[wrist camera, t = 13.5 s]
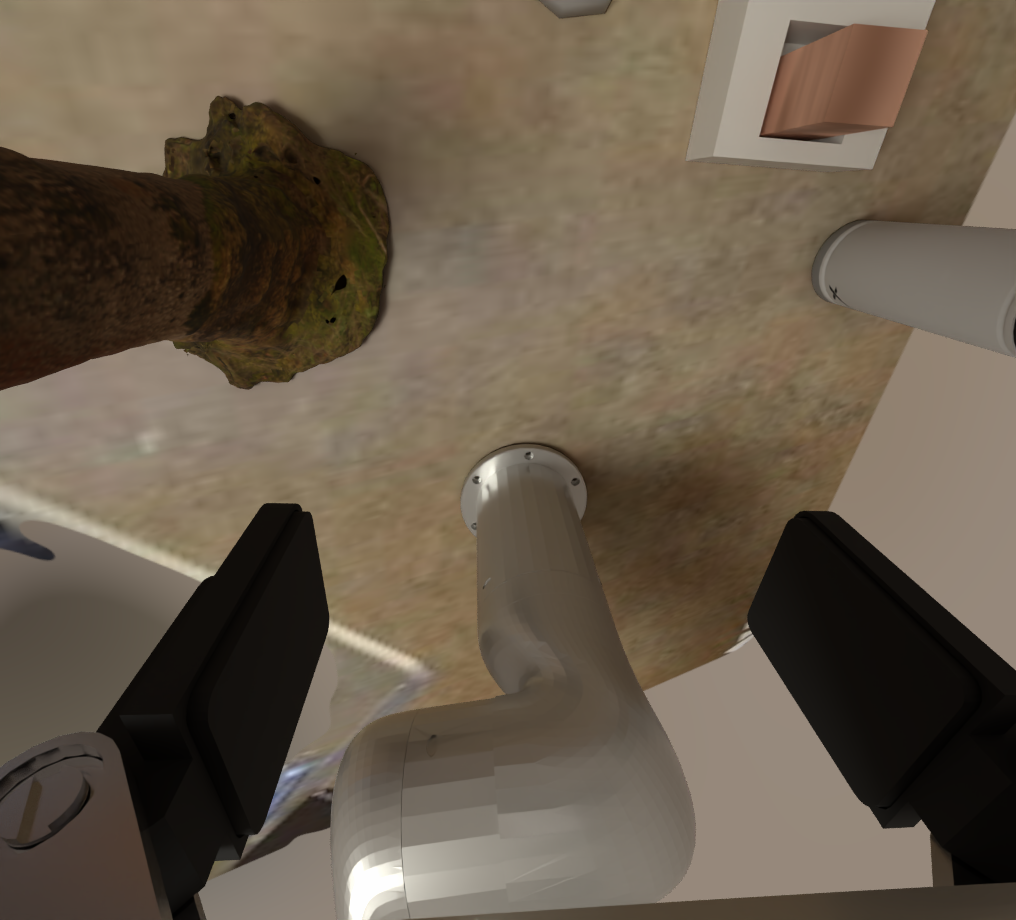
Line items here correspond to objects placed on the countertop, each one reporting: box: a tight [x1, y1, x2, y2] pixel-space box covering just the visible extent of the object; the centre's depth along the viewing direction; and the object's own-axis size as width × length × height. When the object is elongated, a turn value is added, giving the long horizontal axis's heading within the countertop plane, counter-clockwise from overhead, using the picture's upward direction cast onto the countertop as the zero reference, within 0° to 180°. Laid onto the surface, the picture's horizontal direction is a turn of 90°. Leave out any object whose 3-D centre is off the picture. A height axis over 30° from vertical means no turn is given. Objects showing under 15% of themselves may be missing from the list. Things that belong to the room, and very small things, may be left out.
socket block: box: [685, 0, 936, 172], centre depth 29 cm, size 15×11×4 cm
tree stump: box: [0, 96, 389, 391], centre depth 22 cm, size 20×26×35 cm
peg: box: [759, 24, 928, 141], centre depth 28 cm, size 4×4×9 cm
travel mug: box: [812, 220, 1016, 357], centre depth 30 cm, size 6×7×20 cm
